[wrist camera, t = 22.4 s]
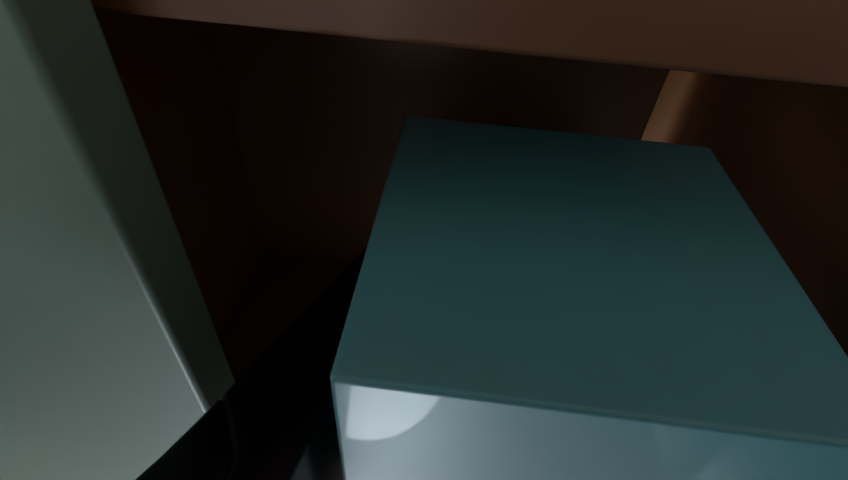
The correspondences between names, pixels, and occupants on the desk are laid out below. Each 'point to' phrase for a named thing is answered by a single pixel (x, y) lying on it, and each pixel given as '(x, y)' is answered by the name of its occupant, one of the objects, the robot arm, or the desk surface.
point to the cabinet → (88, 266)
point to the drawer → (461, 101)
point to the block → (578, 320)
